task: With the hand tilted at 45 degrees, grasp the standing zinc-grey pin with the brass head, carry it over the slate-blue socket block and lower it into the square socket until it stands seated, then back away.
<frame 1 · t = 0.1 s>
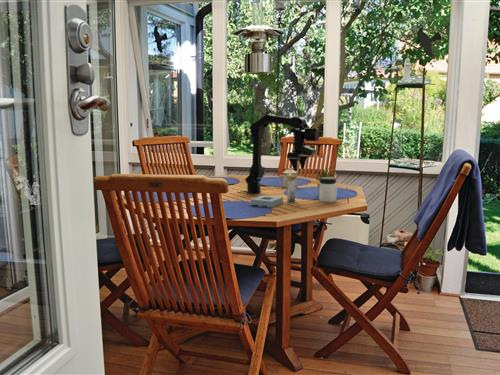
hand: (299, 170, 256), 15 cm above the table, tool pointing down, fingers open, 9 cm apart
teacup with lid: (287, 187, 291), on the table
jar: (327, 201, 247), on the table
house plant: (323, 196, 260), on the table
pin: (291, 201, 246), on the table
socket block: (266, 204, 239), on the table
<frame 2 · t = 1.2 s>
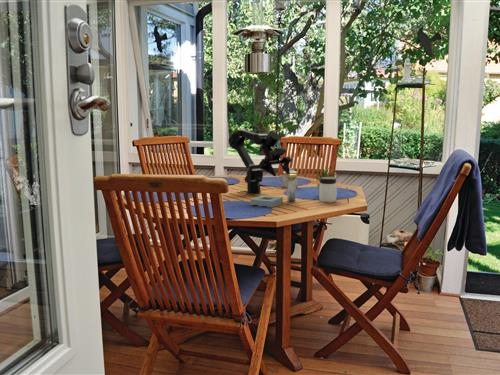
hand: (282, 175, 249), 13 cm above the table, tool tilted 45°, fingers open, 9 cm apart
nothing on the table moved.
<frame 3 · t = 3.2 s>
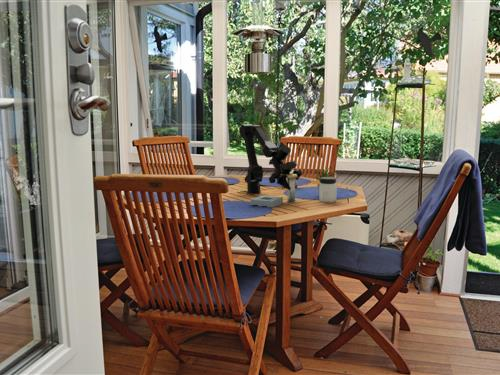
hand: (293, 189, 243), 7 cm above the table, tool tilted 45°, fingers closed on pin, 4 cm apart
pin: (291, 201, 246), on the table, touching gripper
everything else where it was.
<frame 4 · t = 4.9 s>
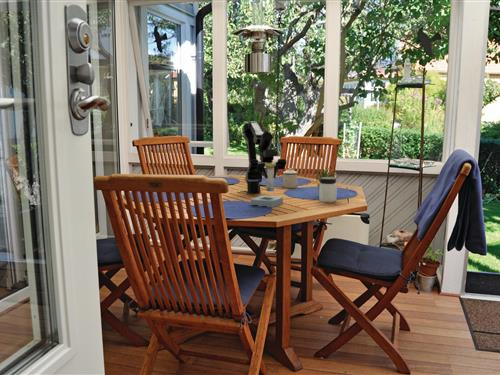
hand: (270, 177, 236), 13 cm above the table, tool tilted 45°, fingers closed on pin, 4 cm apart
pin: (270, 190, 239), point 7 cm above the table, touching gripper
everything else where it was.
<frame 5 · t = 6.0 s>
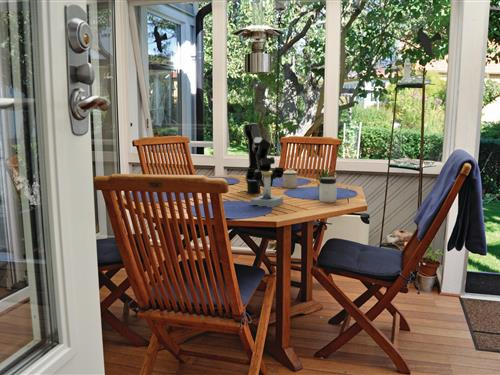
hand: (267, 186, 236), 9 cm above the table, tool tilted 45°, fingers closed on pin, 4 cm apart
pin: (266, 198, 239), point 3 cm above the table, touching gripper
everything else where it was.
when the fingers open (8 cm above the table, at t = 6.7 s): pin drops 1 cm, resting in socket block.
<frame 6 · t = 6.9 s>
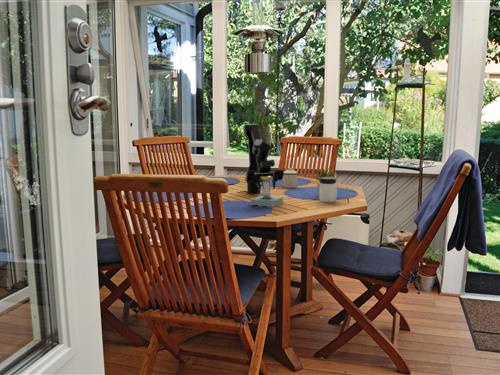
hand: (267, 188, 237), 8 cm above the table, tool tilted 45°, fingers open, 7 cm apart
pin: (266, 203, 240), resting in socket block
everything else where it was.
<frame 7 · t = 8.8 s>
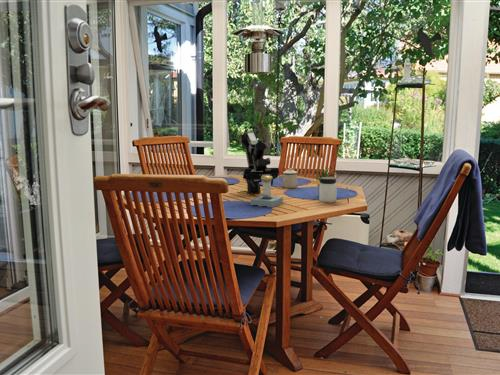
hand: (263, 186, 246), 8 cm above the table, tool tilted 45°, fingers open, 9 cm apart
nothing on the table moved.
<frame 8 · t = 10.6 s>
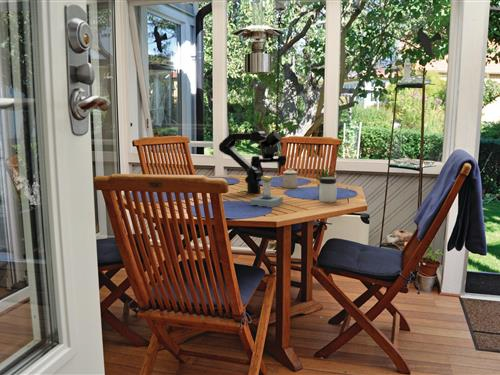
hand: (271, 173, 252), 14 cm above the table, tool tilted 45°, fingers open, 9 cm apart
nothing on the table moved.
at the end: pin 0.3 cm off-centre on the socket block, point 0.0 cm above the socket block's base; pin tilted 1°; the gripper is holding nothing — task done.
